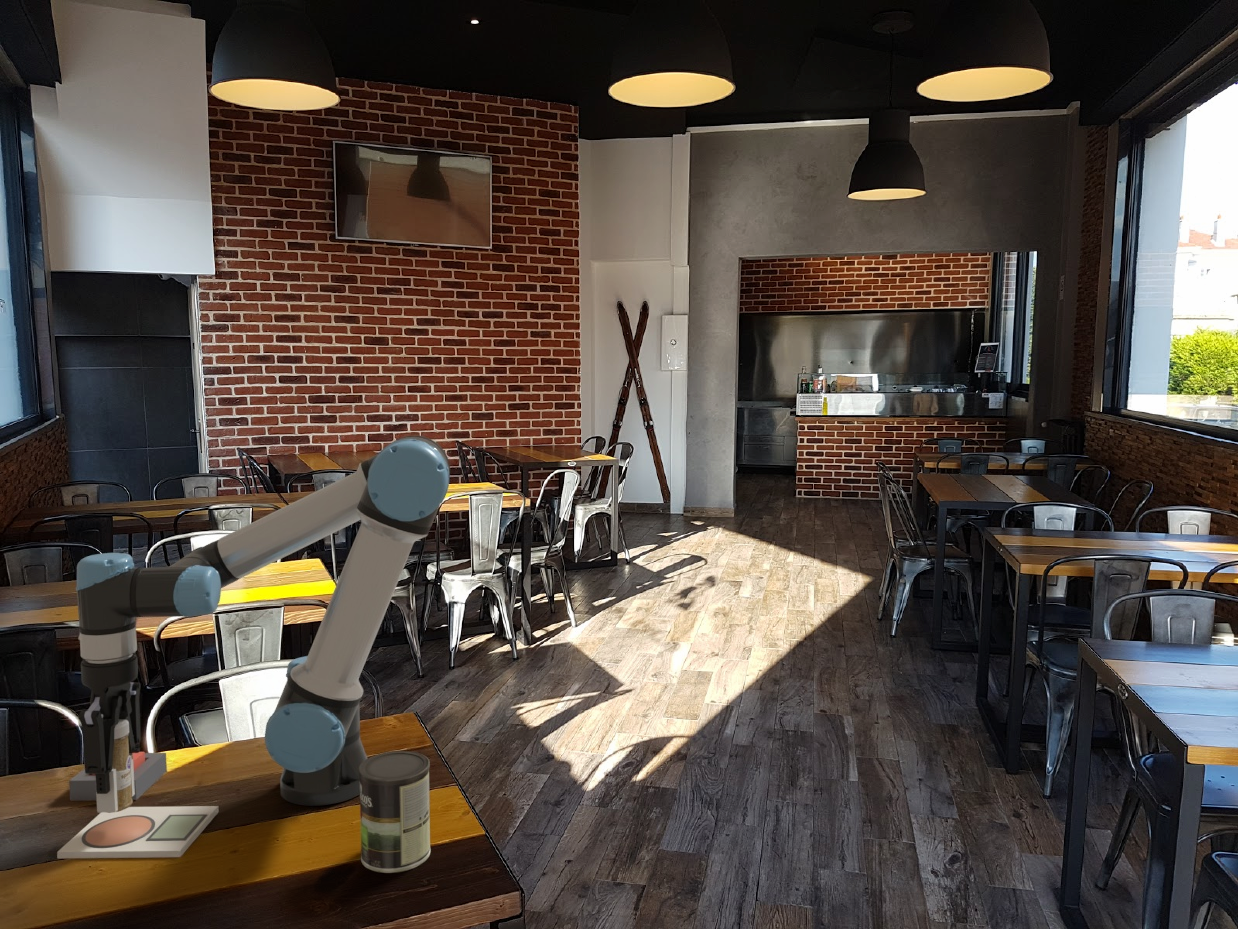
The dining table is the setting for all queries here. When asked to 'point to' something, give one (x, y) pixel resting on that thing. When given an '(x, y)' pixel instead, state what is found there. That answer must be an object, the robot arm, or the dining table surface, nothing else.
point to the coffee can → (394, 811)
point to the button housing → (143, 778)
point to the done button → (137, 759)
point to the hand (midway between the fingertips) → (116, 803)
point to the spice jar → (122, 765)
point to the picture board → (140, 833)
